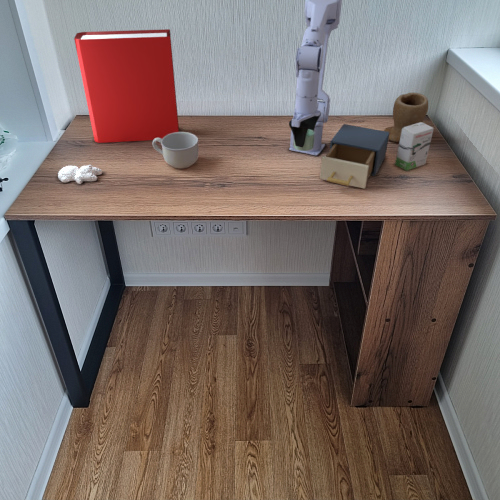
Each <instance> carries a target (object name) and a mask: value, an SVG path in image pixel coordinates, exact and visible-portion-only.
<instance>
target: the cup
mask: <svg viewBox="0 0 500 500" xmlns="http://www.w3.org/2000/svg"><path fill="white" fill-rule="evenodd" d="M314 135H315V133H314V131H313V130H311V129H308V131H307V134H306V138H305V143H304V146H303V147H298V146H296V145H295V140H294V142H293V147H294V148H295V149H297V150H300V151H308V150H311V149H313V146H314Z"/></svg>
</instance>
